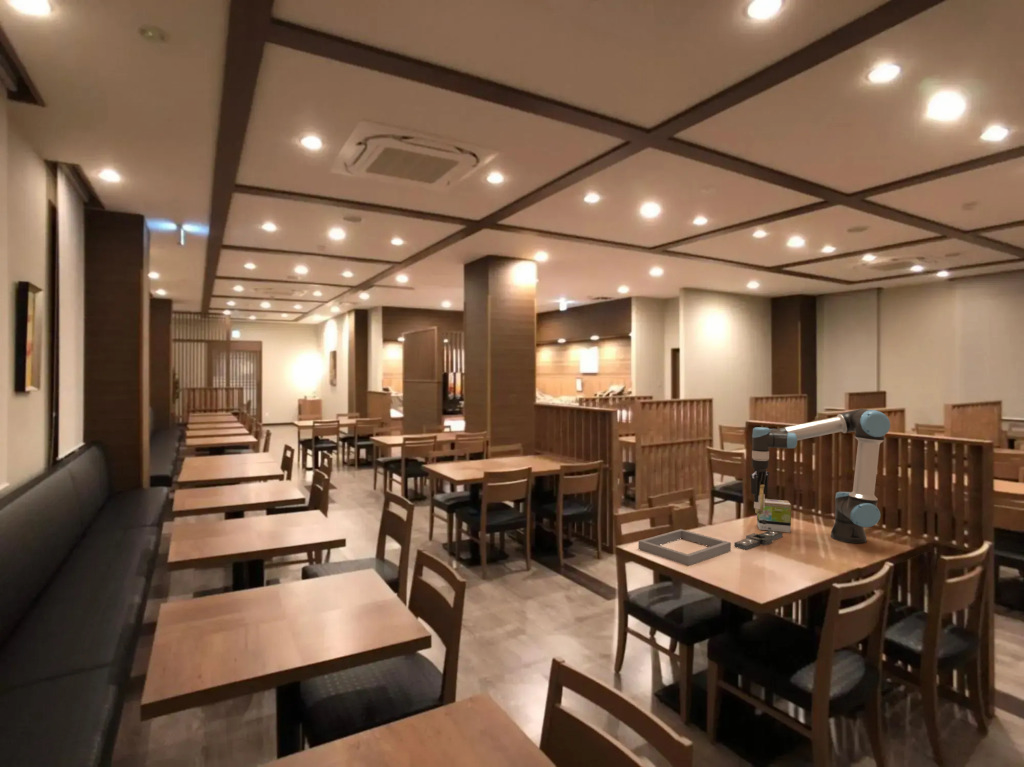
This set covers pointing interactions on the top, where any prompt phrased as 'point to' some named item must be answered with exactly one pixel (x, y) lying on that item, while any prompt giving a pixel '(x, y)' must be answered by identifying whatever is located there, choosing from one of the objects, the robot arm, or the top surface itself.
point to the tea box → (775, 516)
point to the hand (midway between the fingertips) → (759, 507)
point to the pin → (760, 511)
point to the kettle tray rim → (688, 559)
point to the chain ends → (758, 539)
